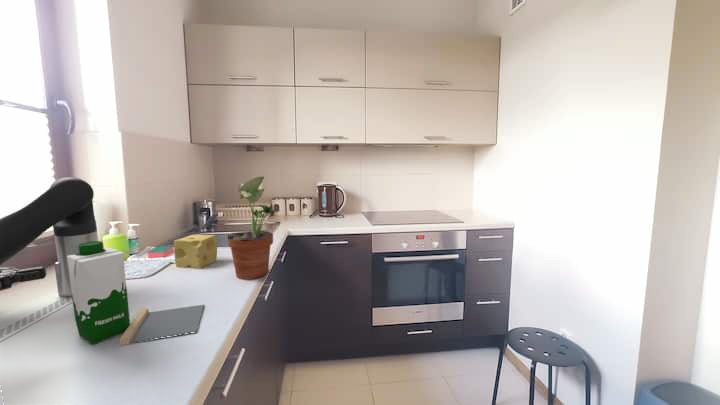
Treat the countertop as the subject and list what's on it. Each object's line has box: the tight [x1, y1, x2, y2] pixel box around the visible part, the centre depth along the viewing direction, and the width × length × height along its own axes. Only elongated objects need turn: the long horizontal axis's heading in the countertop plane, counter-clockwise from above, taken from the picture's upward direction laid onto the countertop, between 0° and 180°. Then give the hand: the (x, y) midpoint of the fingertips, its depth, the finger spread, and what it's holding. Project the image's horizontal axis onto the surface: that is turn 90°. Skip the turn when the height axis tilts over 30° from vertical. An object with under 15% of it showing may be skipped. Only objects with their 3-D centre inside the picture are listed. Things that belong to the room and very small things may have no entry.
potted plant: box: [227, 176, 275, 281], centre depth 105 cm, size 16×15×35 cm
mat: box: [119, 304, 205, 346], centre depth 74 cm, size 14×14×2 cm
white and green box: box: [67, 240, 131, 346], centre depth 69 cm, size 9×9×20 cm
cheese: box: [173, 234, 218, 269], centre depth 118 cm, size 10×11×10 cm
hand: (45, 272), depth 64 cm, fingers closed
